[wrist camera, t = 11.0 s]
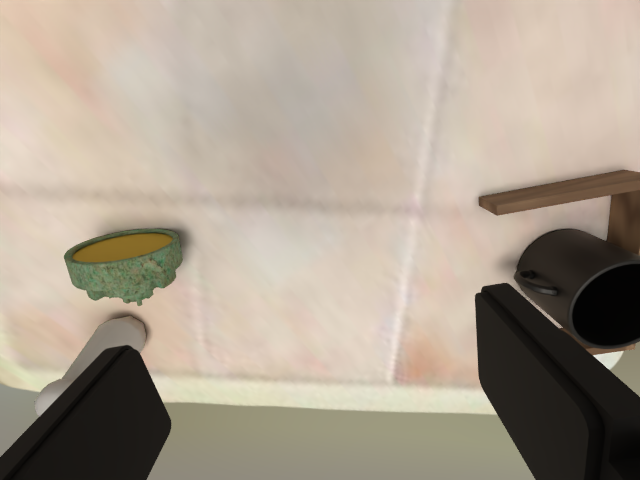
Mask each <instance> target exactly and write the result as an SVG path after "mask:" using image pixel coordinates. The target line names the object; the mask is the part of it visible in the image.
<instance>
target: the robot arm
mask: <svg viewBox="0 0 640 480" xmlns="http://www.w3.org/2000/svg"><path fill="white" fill-rule="evenodd" d="M475 307H476V329H477V350H478V372H479V379H480V383H481V386H482V388H483V390H484V392H485V394H486V395H487V397H488V399H489V401H490V402H491V404H492V406H493V407H494V409H495V411H496V413H497V414H498V416H499V418H500V419H501V421H502V423H503V425H504V426H505V428H506V429H507V431H508V433H509V435H510V437H511V438H512V440H513V442H514V443H515V445H516V447H517V449H518V450H519V452H520V454H521V455H522V457H523V459H524V461H525V462H526V464H527V466H528V467H529V469H530V471H531V473H532V474H533V476H534V478H535V479H536V480H640V397H639V396H638V395H637V394H636V393H635V392H633V391H632V390H631V389H630V388H629V387H628V386H627V385H625V384H624V383H623V382H622V381H621V380H620V379H619V378H618V377H616V376H615V375H614V374H613V373H612V372H611V371H610V370H609V369H607V368H606V367H605V366H604V365H603V364H602V363H601V362H599V361H598V360H597V359H596V358H595V357H594V356H593V355H592V354H590V353H589V352H588V351H587V350H586V349H585V348H584V347H582V346H581V345H580V344H579V343H578V342H577V341H576V340H575V339H573V338H572V337H571V336H570V335H569V334H567V333H566V332H564V331H563V330H560V329H559V328H558V327H557V326H555V325H554V324H553V323H552V322H551V321H550V320H549V319H548V318H547V317H545V316H544V315H543V314H542V313H541V312H540V311H539V310H538V309H536V308H535V307H534V306H533V305H532V304H531V303H530V302H529V301H528V300H526V299H525V298H524V297H523V296H522V295H521V294H520V293H519V292H517V291H516V290H515V289H514V288H513V287H512V286H511V285H510V284H508V283H501V284H495V285H489V286H484V287H483V288H482V290H481V293H477V294H476V295H475ZM170 429H171V420H170V417H169V415H168V413H167V410H166V409H165V406H164V404H163V402H162V400H161V398H160V396H159V393H158V391H157V389H156V387H155V385H154V383H153V381H152V378H151V376H150V374H149V372H148V370H147V368H146V366H145V364H144V361H143V359H142V357H141V355H140V353H139V352H138V350H136V349H134V348H133V347H131V346H130V345H123V346H117V347H111V348H107V349H105V350H104V351H102V352H101V353H100V355H99V356H98V357H97V358H96V359H95V360H94V361H93V362H92V363H91V364H90V365H89V366H88V367H87V368H86V369H85V370H84V371H83V372H82V373H81V374H80V375H79V376H78V377H77V378H76V379H75V380H74V381H73V382H72V384H71V385H70V386H69V387H68V388H67V389H66V390H65V391H64V392H63V393H62V394H61V395H60V396H59V397H58V398H57V399H56V400H55V401H54V402H53V403H52V404H51V405H50V406H49V407H48V408H47V409H46V410H45V411H44V413H43V414H42V415H41V416H40V417H39V418H38V419H37V420H36V421H35V422H34V423H33V424H32V425H31V426H30V427H29V428H28V429H27V430H26V431H25V432H24V433H23V434H22V435H21V436H20V437H19V438H18V439H17V441H16V442H15V443H14V444H13V445H12V446H11V447H10V448H9V449H8V450H7V451H6V452H5V453H4V454H3V455H2V456H1V457H0V480H146V479H147V477H148V475H149V473H150V471H151V469H152V467H153V465H154V463H155V461H156V459H157V457H158V455H159V453H160V451H161V449H162V447H163V445H164V443H165V441H166V439H167V437H168V435H169V433H170Z"/></svg>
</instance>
